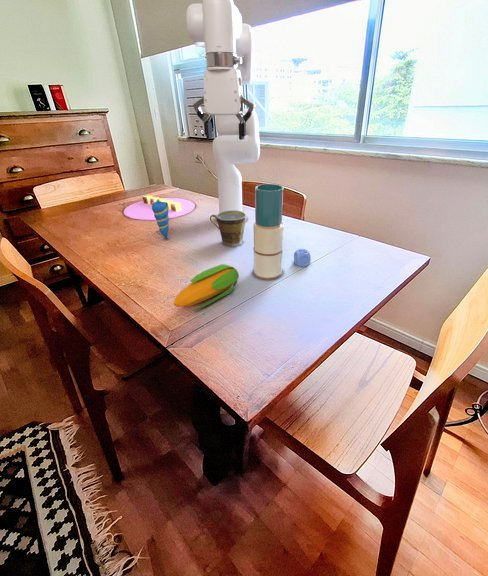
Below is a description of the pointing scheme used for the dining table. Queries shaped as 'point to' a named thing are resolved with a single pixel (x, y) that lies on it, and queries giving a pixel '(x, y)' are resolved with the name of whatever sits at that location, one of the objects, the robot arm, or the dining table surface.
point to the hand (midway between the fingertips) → (225, 138)
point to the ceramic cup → (231, 226)
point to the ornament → (161, 217)
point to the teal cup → (268, 205)
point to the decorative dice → (302, 257)
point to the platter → (146, 213)
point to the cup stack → (268, 251)
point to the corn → (208, 286)
